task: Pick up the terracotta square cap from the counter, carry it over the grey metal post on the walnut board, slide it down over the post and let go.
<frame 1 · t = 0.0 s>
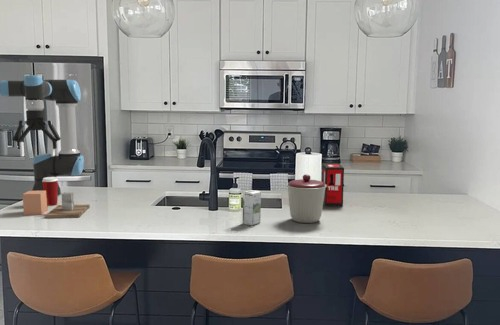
hand: (37, 156, 211), 28 cm above the counter, tool pointing down, fingers open, 13 cm apart
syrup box: (251, 224, 202), on the counter
post stand: (68, 212, 220), on the counter
cap: (35, 212, 220), on the counter
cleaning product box: (331, 203, 244), on the counter
paper cup: (51, 205, 237), on the counter
canister: (305, 220, 208), on the counter
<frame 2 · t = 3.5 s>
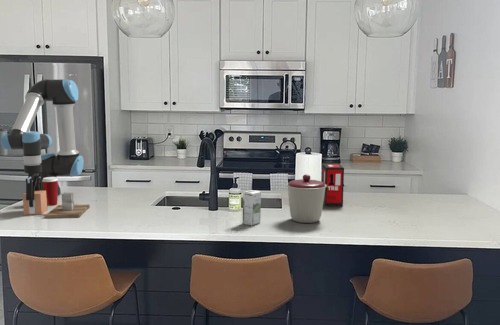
hand: (35, 211, 220), 1 cm above the counter, tool pointing down, fingers closed on cap, 8 cm apart
cap: (35, 212, 220), on the counter, touching gripper
everything else where it was.
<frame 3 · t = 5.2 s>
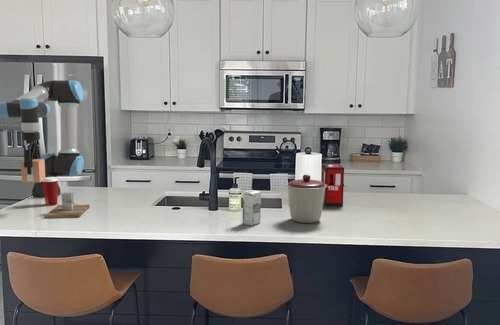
hand: (33, 179, 218), 16 cm above the counter, tool pointing down, fingers closed on cap, 8 cm apart
cap: (34, 180, 218), point 15 cm above the counter, touching gripper
everything else where it was.
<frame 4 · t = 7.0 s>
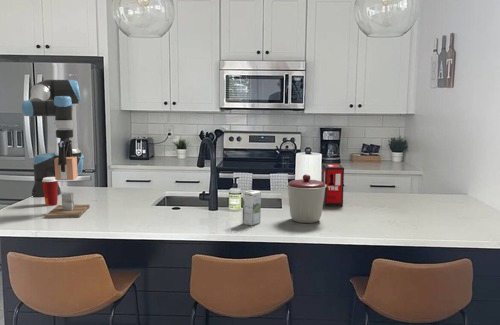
hand: (66, 177, 218), 17 cm above the counter, tool pointing down, fingers closed on cap, 8 cm apart
cap: (66, 178, 218), point 17 cm above the counter, touching gripper
everything else where it was.
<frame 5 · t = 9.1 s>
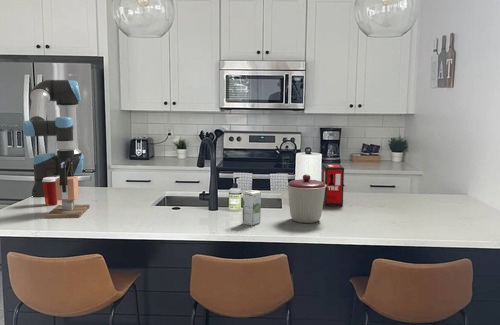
hand: (67, 196, 219), 8 cm above the counter, tool pointing down, fingers closed on cap, 8 cm apart
cap: (67, 198, 219), point 7 cm above the counter, touching gripper
everything else where it was.
when the fingers open (4 cm above the counter, at t = 10.8 s): cap drops 1 cm, resting on post stand.
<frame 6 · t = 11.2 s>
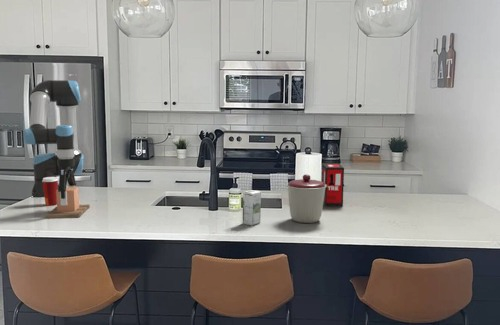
hand: (68, 202, 220), 5 cm above the counter, tool pointing down, fingers open, 13 cm apart
cap: (68, 209, 220), point 1 cm above the counter, touching post stand
everything else where it was.
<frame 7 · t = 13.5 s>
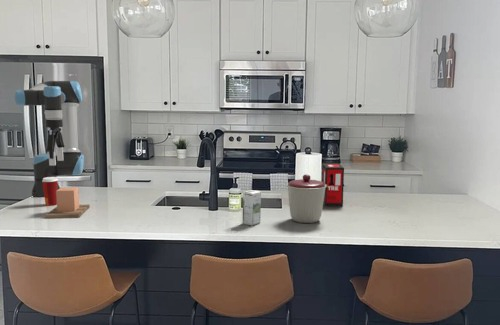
hand: (56, 162, 222), 23 cm above the counter, tool pointing down, fingers open, 13 cm apart
nothing on the counter moved.
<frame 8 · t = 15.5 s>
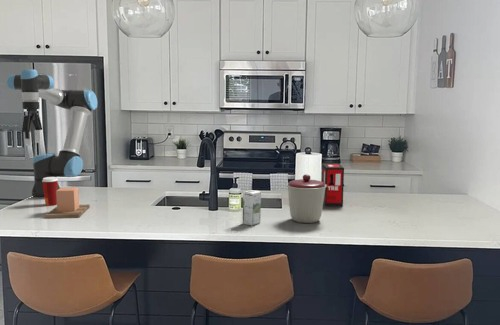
hand: (33, 144, 229), 32 cm above the counter, tool pointing down, fingers open, 13 cm apart
nothing on the counter moved.
at the end: cap 0.0 cm from the post stand (horizontally); cap point 1.5 cm above the counter; the gripper is holding nothing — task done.
